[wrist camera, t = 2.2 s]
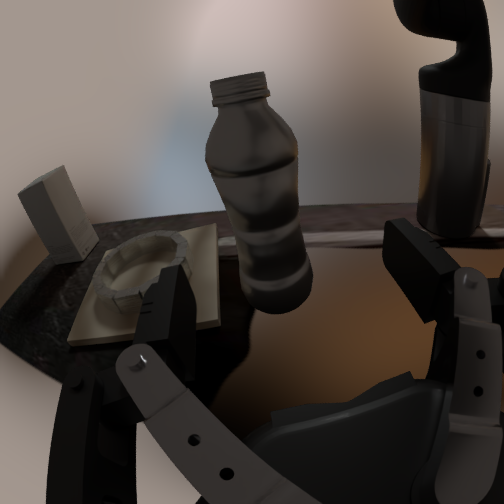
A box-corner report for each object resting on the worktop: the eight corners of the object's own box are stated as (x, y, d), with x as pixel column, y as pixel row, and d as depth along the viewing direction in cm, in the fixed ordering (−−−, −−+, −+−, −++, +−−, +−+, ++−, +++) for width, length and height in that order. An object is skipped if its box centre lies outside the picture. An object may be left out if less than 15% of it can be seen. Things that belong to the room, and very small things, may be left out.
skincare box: (100, 240, 46) (66, 163, 37) (82, 263, 41) (41, 180, 32) (71, 245, 48) (38, 175, 39) (53, 266, 43) (15, 192, 34)
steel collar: (195, 238, 38) (190, 222, 36) (190, 303, 28) (181, 284, 26) (116, 257, 38) (109, 243, 37) (91, 320, 28) (79, 304, 27)
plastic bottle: (328, 301, 26) (307, 66, 14) (265, 335, 24) (202, 82, 13) (291, 267, 31) (259, 72, 19) (235, 294, 29) (177, 90, 18)
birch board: (217, 229, 41) (215, 223, 40) (220, 325, 26) (217, 318, 25) (109, 255, 41) (106, 250, 40) (71, 346, 26) (67, 340, 26)
